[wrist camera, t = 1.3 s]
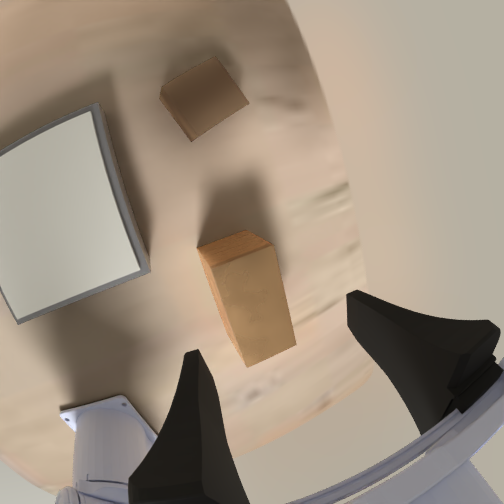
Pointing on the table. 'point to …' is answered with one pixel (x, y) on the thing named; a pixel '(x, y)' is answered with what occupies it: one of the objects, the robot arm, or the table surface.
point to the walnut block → (202, 97)
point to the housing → (249, 295)
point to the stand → (65, 217)
